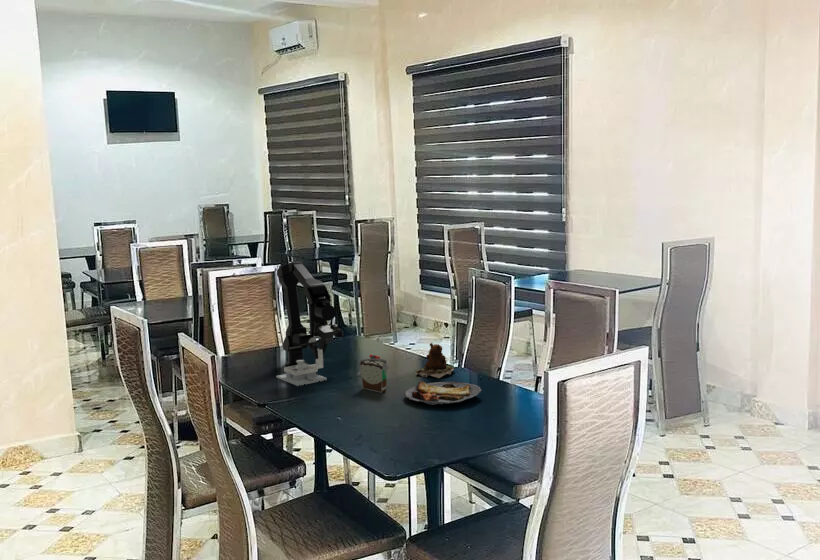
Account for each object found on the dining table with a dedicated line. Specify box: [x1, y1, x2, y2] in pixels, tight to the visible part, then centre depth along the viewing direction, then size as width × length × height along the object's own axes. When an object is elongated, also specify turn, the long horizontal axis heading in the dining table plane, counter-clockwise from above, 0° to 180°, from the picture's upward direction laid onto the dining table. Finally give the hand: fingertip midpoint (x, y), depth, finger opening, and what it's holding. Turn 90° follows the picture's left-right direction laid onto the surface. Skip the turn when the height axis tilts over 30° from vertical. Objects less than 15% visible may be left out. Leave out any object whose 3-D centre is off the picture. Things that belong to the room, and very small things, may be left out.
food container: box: [358, 358, 390, 394], centre depth 274 cm, size 12×6×10 cm, turn 47°
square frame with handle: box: [283, 348, 324, 376], centre depth 292 cm, size 14×9×7 cm, turn 127°
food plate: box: [403, 381, 482, 406], centre depth 261 cm, size 25×23×4 cm
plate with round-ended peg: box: [275, 359, 327, 387], centre depth 291 cm, size 16×12×7 cm
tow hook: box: [356, 354, 381, 376], centre depth 296 cm, size 7×10×7 cm
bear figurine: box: [415, 342, 455, 379], centre depth 294 cm, size 14×15×12 cm
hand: (319, 358), depth 295 cm, fingers closed on square frame with handle, 2 cm apart
